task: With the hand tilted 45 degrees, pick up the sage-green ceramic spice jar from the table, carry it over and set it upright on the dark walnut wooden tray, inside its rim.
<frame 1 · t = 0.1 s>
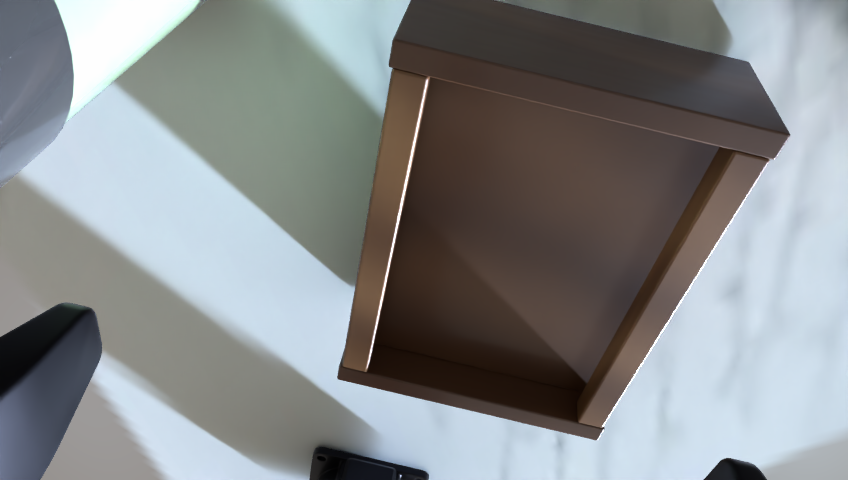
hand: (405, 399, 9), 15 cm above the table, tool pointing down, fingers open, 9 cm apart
wooden tray: (520, 201, 25), on the table
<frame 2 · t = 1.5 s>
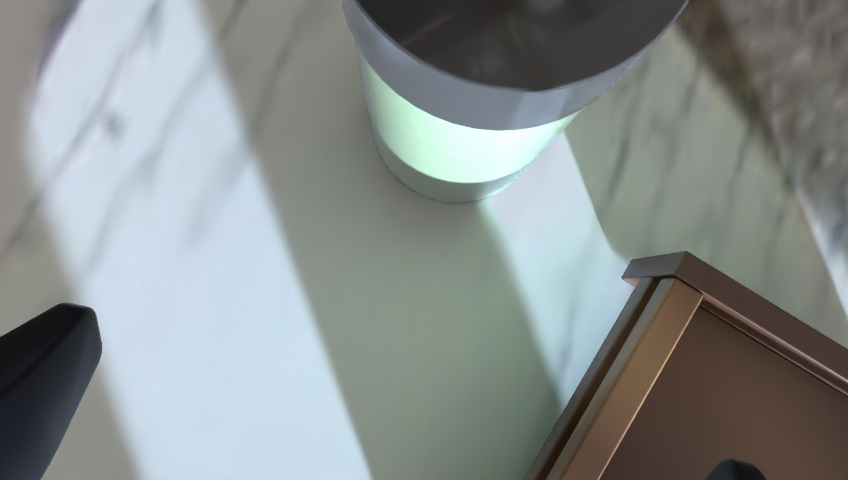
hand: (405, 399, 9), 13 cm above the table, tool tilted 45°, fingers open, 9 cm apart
spice jar: (456, 118, 23), on the table
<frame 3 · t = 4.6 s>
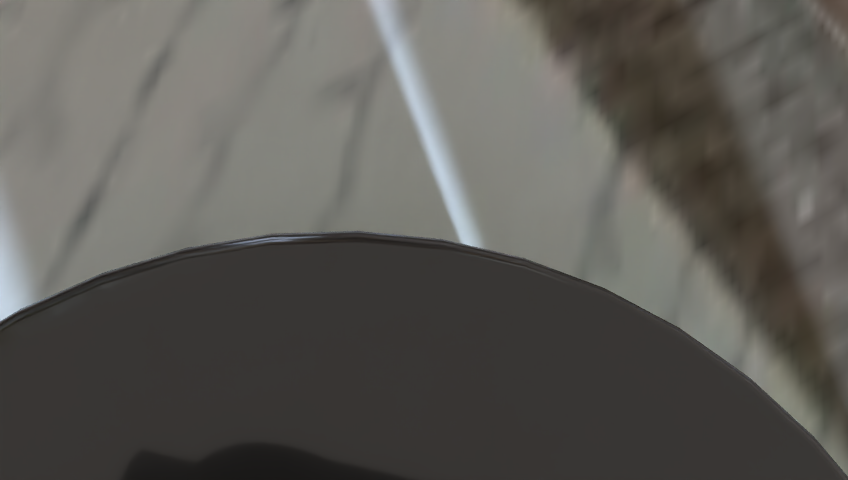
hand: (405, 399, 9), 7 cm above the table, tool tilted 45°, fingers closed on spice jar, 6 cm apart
spice jar: (391, 414, 16), on the table, touching gripper
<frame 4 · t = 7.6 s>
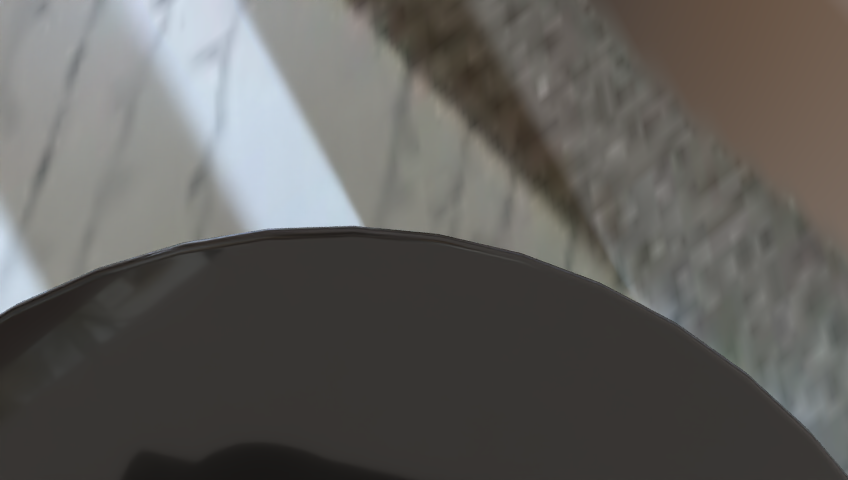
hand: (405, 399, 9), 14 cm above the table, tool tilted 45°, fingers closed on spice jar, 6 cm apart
spice jar: (390, 413, 16), point 7 cm above the table, touching gripper
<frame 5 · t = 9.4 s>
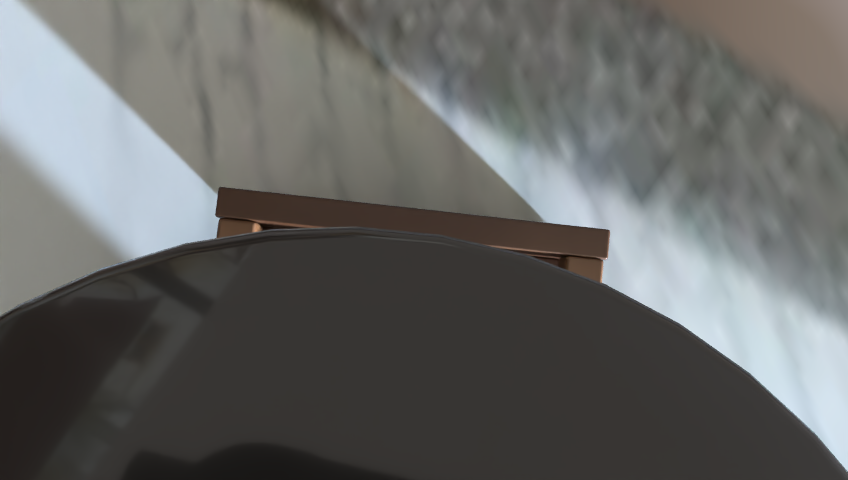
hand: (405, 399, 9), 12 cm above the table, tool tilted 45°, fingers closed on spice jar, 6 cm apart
spice jar: (391, 413, 16), point 6 cm above the table, touching gripper
wooden tray: (390, 439, 21), on the table
when the fingers open (10 cm above the table, at t = 10.8 s): spice jar stays where it is, resting on wooden tray.
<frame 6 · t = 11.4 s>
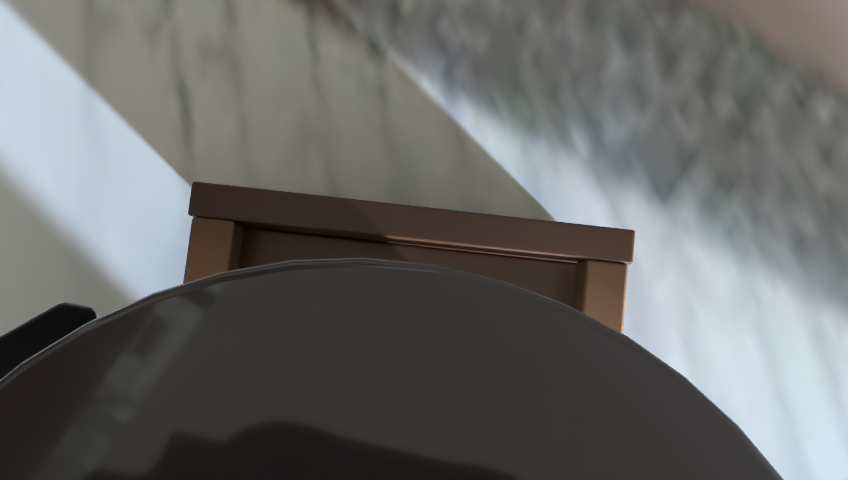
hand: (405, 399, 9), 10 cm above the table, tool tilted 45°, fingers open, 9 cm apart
spice jar: (391, 414, 16), point 3 cm above the table, touching wooden tray
wooden tray: (386, 464, 19), on the table
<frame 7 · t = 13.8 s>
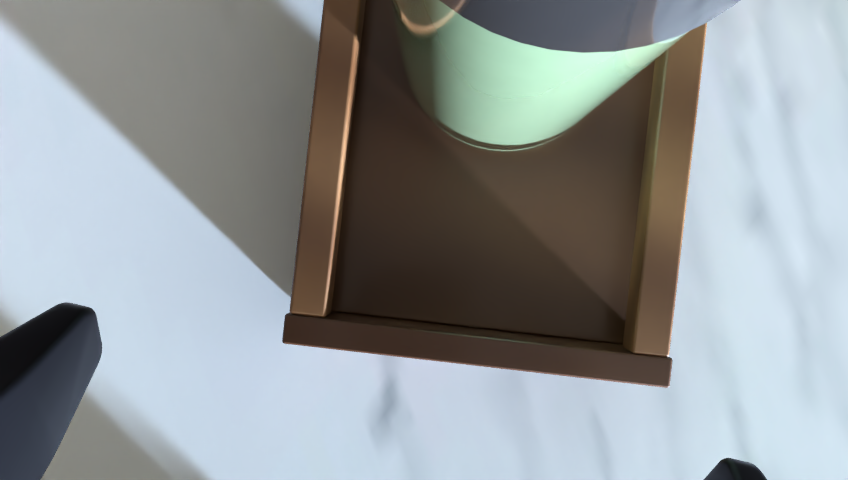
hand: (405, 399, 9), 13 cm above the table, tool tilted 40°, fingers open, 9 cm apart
spice jar: (505, 47, 19), point 3 cm above the table, touching wooden tray
wooden tray: (490, 131, 22), on the table
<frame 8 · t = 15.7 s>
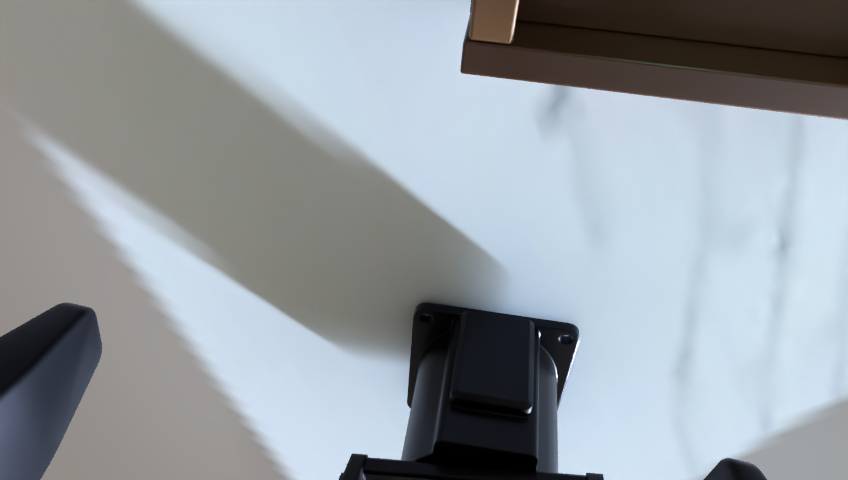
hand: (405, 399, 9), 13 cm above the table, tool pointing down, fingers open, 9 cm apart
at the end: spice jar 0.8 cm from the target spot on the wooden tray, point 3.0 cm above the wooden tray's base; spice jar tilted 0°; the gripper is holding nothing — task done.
